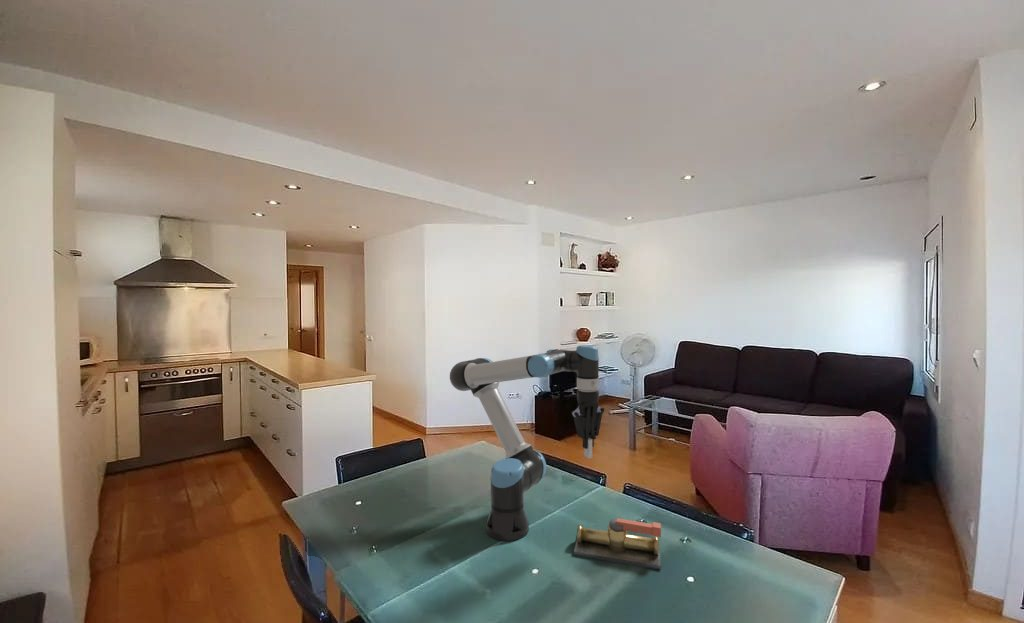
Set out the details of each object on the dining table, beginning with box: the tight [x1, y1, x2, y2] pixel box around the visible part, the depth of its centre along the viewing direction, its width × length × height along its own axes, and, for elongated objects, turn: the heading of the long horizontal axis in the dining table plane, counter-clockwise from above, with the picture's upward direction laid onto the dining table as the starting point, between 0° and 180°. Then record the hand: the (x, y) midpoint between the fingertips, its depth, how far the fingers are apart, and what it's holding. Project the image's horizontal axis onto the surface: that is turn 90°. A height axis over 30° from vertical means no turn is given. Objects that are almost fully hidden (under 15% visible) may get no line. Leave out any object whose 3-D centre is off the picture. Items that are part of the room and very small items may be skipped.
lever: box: [608, 517, 662, 538], centre depth 131 cm, size 5×16×3 cm, turn 69°
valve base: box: [573, 524, 662, 571], centre depth 133 cm, size 26×14×7 cm, turn 73°
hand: (588, 456), depth 143 cm, fingers closed
